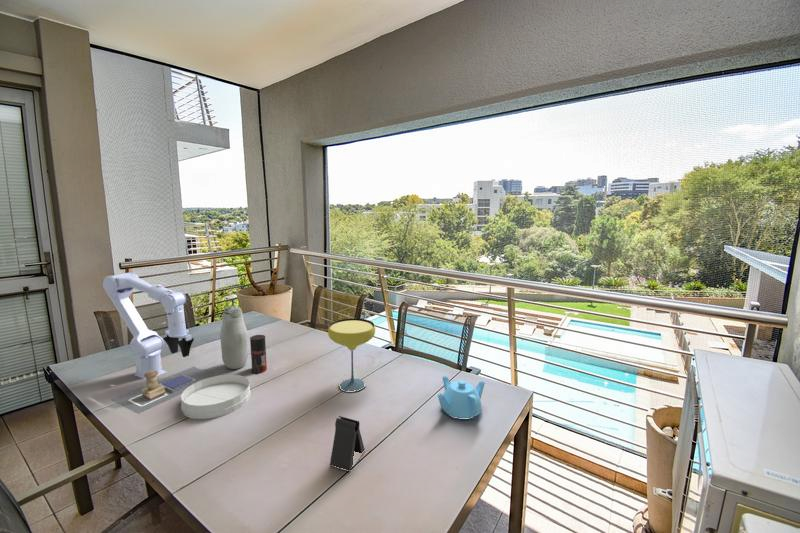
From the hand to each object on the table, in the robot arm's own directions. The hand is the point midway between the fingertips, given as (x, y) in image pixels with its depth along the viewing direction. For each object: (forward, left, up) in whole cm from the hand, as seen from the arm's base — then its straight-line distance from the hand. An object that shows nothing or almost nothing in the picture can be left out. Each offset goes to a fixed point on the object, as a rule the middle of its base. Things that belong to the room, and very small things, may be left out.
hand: (180, 354), depth 138 cm
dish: (+28, -4, -11) cm, 30 cm away
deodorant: (+22, +20, -11) cm, 31 cm away
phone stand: (+87, -6, -11) cm, 88 cm away
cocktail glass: (+65, +28, -11) cm, 71 cm away
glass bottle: (+11, +17, -11) cm, 23 cm away
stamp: (+5, -13, -10) cm, 17 cm away
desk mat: (+4, -7, -10) cm, 13 cm away
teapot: (+108, +32, -11) cm, 113 cm away
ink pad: (+5, -5, -10) cm, 12 cm away
